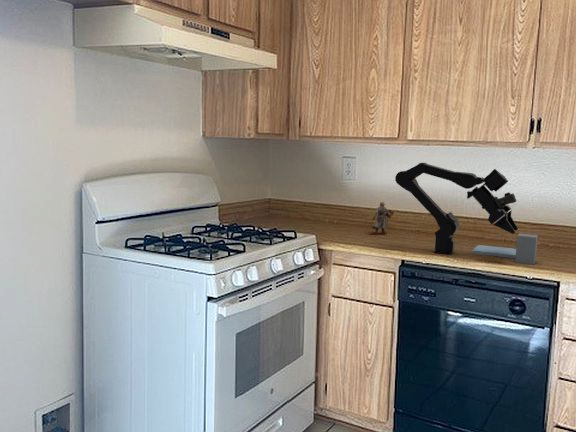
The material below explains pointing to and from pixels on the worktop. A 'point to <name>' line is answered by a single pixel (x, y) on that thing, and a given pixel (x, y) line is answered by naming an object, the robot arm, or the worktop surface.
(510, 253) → the board
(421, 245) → the worktop surface
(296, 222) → the worktop surface
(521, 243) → the tall gray block
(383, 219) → the figurine
